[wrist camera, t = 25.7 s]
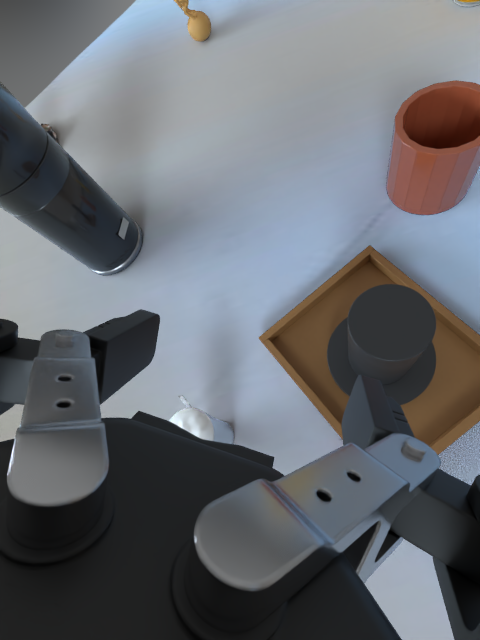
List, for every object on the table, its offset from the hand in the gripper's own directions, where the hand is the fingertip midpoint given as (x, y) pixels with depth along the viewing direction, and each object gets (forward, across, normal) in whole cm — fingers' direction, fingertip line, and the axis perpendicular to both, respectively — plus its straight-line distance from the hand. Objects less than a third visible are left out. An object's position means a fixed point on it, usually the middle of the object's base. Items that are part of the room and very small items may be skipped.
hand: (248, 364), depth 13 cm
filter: (+22, -10, +6) cm, 25 cm away
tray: (+23, -10, +6) cm, 26 cm away
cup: (+34, -12, -13) cm, 38 cm away
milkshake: (+19, +3, +18) cm, 26 cm away
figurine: (+57, +28, -31) cm, 70 cm away
